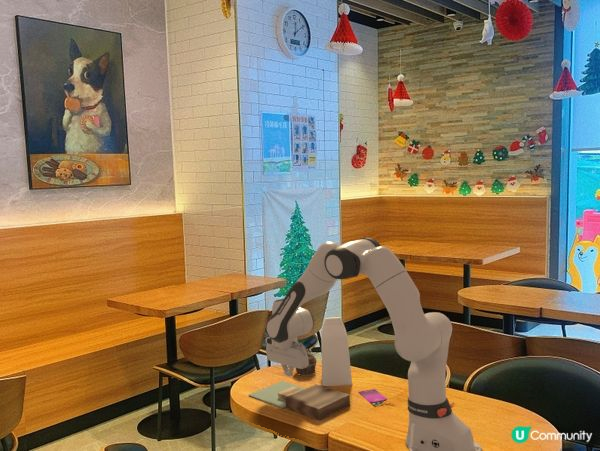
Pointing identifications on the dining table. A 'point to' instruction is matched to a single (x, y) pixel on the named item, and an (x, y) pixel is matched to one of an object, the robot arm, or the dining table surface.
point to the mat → (274, 393)
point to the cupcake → (311, 366)
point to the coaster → (288, 392)
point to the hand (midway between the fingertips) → (288, 375)
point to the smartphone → (373, 397)
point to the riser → (317, 401)
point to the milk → (335, 353)
